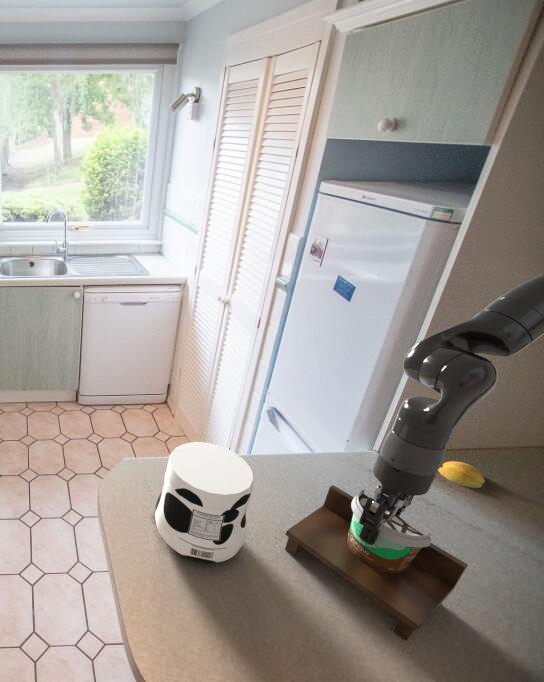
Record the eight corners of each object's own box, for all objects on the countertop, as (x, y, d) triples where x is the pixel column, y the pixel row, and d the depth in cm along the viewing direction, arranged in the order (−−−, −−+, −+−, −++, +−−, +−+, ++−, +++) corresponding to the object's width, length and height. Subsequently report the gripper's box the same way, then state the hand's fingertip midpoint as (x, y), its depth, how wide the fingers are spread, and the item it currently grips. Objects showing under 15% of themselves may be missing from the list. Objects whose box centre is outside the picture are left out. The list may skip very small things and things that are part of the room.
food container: (323, 535, 87) (338, 495, 83) (346, 526, 89) (361, 487, 85) (389, 589, 77) (410, 548, 73) (413, 578, 79) (434, 536, 75)
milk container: (199, 495, 104) (213, 430, 96) (260, 554, 89) (282, 483, 82) (136, 517, 98) (145, 450, 90) (190, 584, 83) (206, 511, 76)
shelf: (445, 604, 80) (468, 564, 76) (408, 645, 73) (430, 605, 69) (319, 520, 97) (332, 484, 93) (280, 548, 90) (292, 511, 86)
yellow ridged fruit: (430, 478, 109) (436, 465, 107) (444, 465, 113) (450, 452, 112) (474, 499, 103) (481, 486, 101) (487, 484, 107) (494, 471, 105)
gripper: (403, 432, 80) (373, 504, 87) (361, 460, 73) (332, 534, 80) (456, 456, 74) (419, 530, 81) (415, 488, 67) (379, 566, 74)
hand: (376, 532), depth 81 cm, fingers closed on food container, 6 cm apart
